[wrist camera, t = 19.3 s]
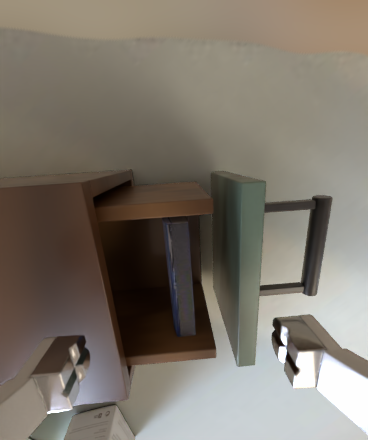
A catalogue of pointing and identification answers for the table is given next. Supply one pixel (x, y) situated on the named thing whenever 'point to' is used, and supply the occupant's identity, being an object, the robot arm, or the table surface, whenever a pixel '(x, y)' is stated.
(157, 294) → the drawer
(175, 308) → the mini dv tape
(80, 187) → the cabinet
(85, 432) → the cosmetic box
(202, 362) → the table surface
